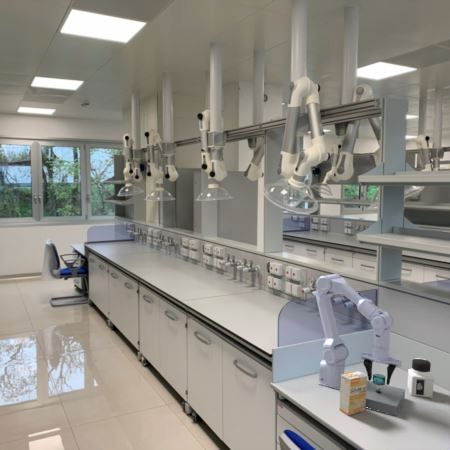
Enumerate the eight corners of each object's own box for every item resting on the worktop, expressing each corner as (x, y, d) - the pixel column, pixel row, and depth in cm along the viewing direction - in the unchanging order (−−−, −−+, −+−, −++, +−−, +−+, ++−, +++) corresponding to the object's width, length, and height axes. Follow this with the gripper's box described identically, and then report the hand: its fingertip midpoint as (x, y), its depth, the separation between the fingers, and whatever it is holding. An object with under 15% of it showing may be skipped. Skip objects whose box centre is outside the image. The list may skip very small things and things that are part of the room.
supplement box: (348, 416, 152) (350, 379, 151) (338, 410, 156) (340, 374, 155) (366, 411, 156) (368, 375, 155) (356, 405, 160) (358, 370, 159)
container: (432, 398, 167) (434, 364, 166) (411, 395, 169) (413, 362, 168) (427, 389, 175) (429, 357, 174) (407, 387, 176) (408, 355, 176)
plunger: (370, 393, 163) (371, 376, 162) (373, 389, 166) (374, 372, 166) (383, 396, 160) (384, 379, 160) (385, 392, 164) (386, 375, 164)
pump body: (350, 403, 161) (350, 394, 161) (361, 387, 175) (362, 379, 174) (396, 416, 153) (397, 406, 152) (404, 398, 166) (405, 389, 166)
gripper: (358, 344, 163) (356, 380, 163) (399, 353, 155) (397, 390, 156) (362, 339, 169) (361, 374, 169) (403, 347, 161) (401, 383, 162)
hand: (378, 381), depth 163 cm, fingers open, 6 cm apart
